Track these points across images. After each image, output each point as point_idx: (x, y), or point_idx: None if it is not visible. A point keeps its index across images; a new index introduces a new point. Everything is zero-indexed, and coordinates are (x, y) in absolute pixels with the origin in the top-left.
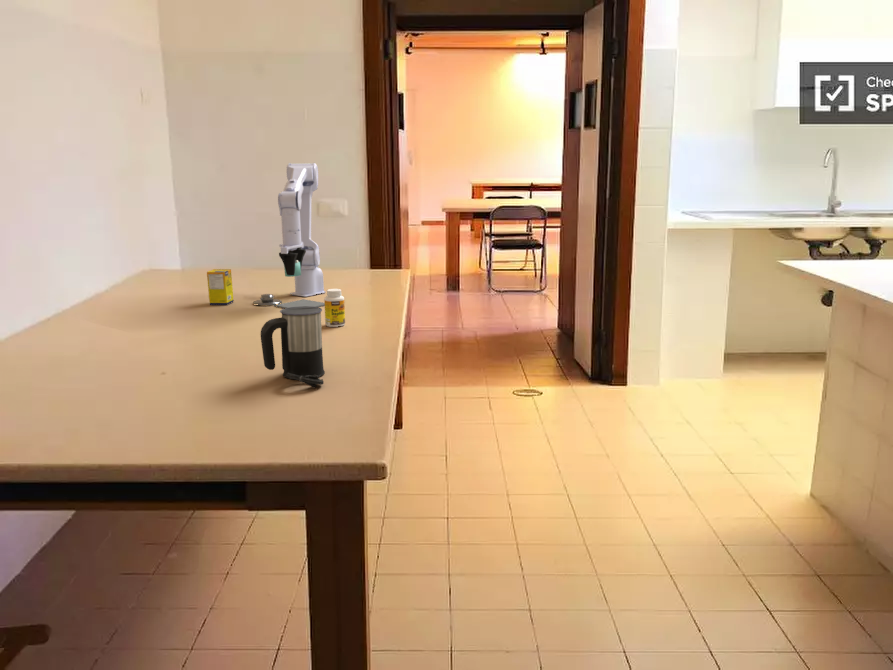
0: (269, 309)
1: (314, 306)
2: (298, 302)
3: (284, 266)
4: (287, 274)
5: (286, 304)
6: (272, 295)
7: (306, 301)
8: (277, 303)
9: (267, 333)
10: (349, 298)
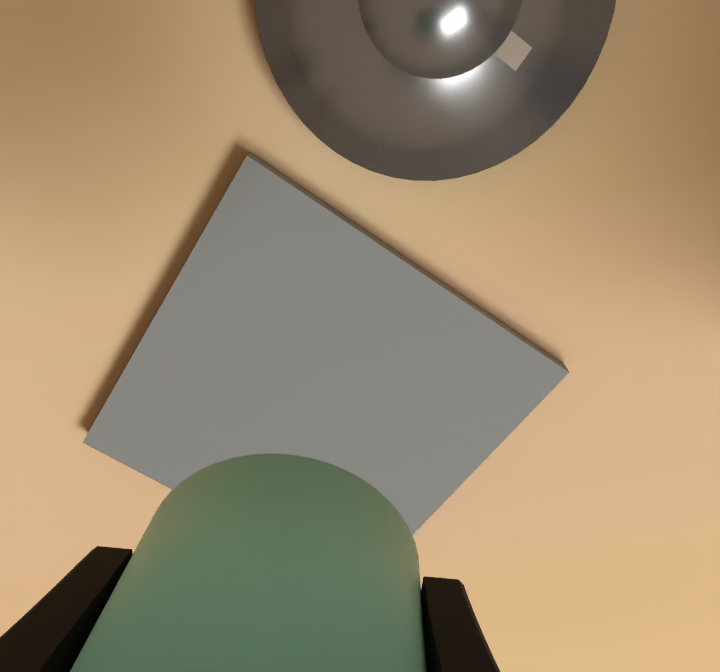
0: (109, 139)
1: None
2: (401, 363)
3: (118, 624)
4: (83, 561)
5: (293, 275)
6: (432, 78)
7: (448, 421)
8: (349, 159)
9: None
10: (624, 659)
